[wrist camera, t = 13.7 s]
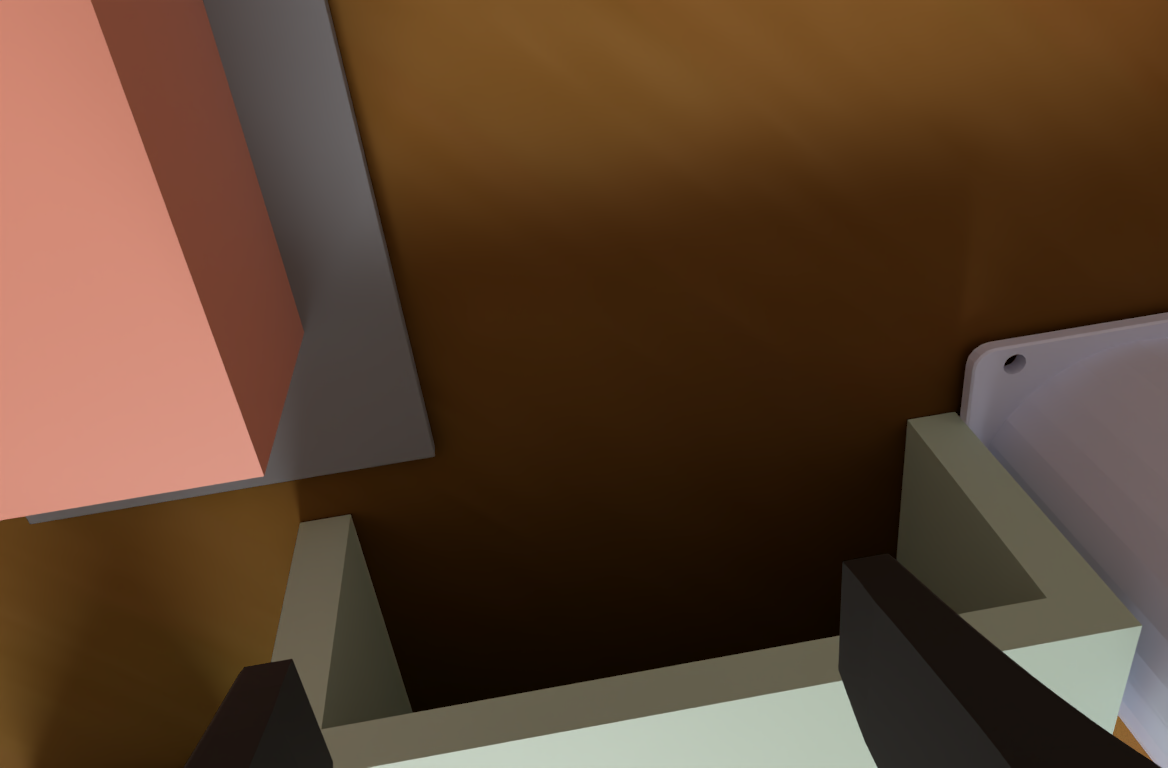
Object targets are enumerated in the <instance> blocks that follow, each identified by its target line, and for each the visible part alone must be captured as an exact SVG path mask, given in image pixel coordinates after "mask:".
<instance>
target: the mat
mask: <svg viewBox="0 0 1168 768" xmlns="http://www.w3.org/2000/svg"><path fill="white" fill-rule="evenodd" d="M203 3H204V6H205V9H206V13H207V16H208V19H209V23H210V26H211V29H212V32H213V36H214V39H215V42H216V45H217V49H218V52H219V55H220V58H221V62H222V65H223V68H224V72H225V75H226V78H227V81H228V85H229V88H230V91H231V94H232V98H233V101H234V104H235V108H236V111H237V114H238V117H239V121H240V124H241V127H242V130H243V134H244V137H245V140H246V143H247V147H248V150H249V153H250V157H251V160H252V163H253V166H254V170H255V173H256V176H257V179H258V183H259V186H260V189H261V193H262V196H263V199H264V202H265V206H266V209H267V212H268V215H269V219H270V222H271V225H272V228H273V232H274V235H275V238H276V242H277V245H278V248H279V251H280V255H281V258H282V261H283V264H284V268H285V271H286V274H287V278H288V281H289V284H290V287H291V291H292V294H293V297H294V300H295V304H296V307H297V310H298V313H299V317H300V320H301V323H302V327H303V330H304V335H303V339H302V342H301V346H300V349H299V353H298V357H297V360H296V364H295V367H294V371H293V375H292V378H291V382H290V385H289V389H288V393H287V396H286V400H285V403H284V407H283V411H282V414H281V418H280V421H279V425H278V428H277V432H276V436H275V439H274V443H273V446H272V450H271V454H270V457H269V461H268V464H267V468H266V472H265V475H264V476H263V477H257V478H251V479H245V480H239V481H233V482H227V483H221V484H215V485H209V486H203V487H197V488H191V489H185V490H179V491H173V492H167V493H161V494H155V495H149V496H143V497H137V498H131V499H125V500H119V501H113V502H107V503H101V504H95V505H89V506H83V507H77V508H71V509H65V510H59V511H53V512H47V513H41V514H35V515H29V516H26V518H27V520H28V522H29V523H30V524H35V523H41V522H47V521H53V520H59V519H65V518H71V517H77V516H83V515H89V514H95V513H101V512H107V511H112V510H118V509H124V508H130V507H136V506H142V505H148V504H154V503H160V502H166V501H172V500H178V499H184V498H190V497H196V496H202V495H208V494H214V493H220V492H226V491H232V490H238V489H244V488H250V487H256V486H262V485H268V484H274V483H280V482H286V481H292V480H298V479H304V478H310V477H316V476H322V475H328V474H334V473H340V472H346V471H352V470H357V469H363V468H369V467H375V466H381V465H387V464H393V463H399V462H405V461H411V460H417V459H423V458H429V457H435V445H434V441H433V436H432V432H431V428H430V424H429V420H428V416H427V411H426V407H425V403H424V399H423V395H422V391H421V387H420V382H419V378H418V374H417V370H416V366H415V362H414V357H413V353H412V349H411V345H410V341H409V337H408V333H407V328H406V324H405V320H404V316H403V312H402V308H401V303H400V299H399V295H398V291H397V287H396V283H395V279H394V274H393V270H392V266H391V262H390V258H389V254H388V249H387V245H386V241H385V237H384V233H383V229H382V225H381V220H380V216H379V212H378V208H377V204H376V200H375V195H374V191H373V187H372V183H371V179H370V175H369V171H368V166H367V162H366V158H365V154H364V150H363V146H362V141H361V137H360V133H359V129H358V125H357V121H356V117H355V112H354V108H353V104H352V100H351V96H350V92H349V87H348V83H347V79H346V75H345V71H344V67H343V63H342V58H341V54H340V50H339V46H338V42H337V38H336V33H335V29H334V25H333V21H332V17H331V13H330V9H329V4H328V0H203Z"/></svg>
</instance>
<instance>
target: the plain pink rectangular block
mask: <svg viewBox="0 0 1168 768" xmlns="http://www.w3.org/2000/svg"><path fill="white" fill-rule="evenodd" d="M303 335H304V330H303V327H302V323H301V320H300V317H299V313H298V310H297V307H296V304H295V300H294V297H293V294H292V291H291V287H290V284H289V281H288V278H287V274H286V271H285V268H284V264H283V261H282V258H281V255H280V251H279V248H278V245H277V242H276V238H275V235H274V232H273V228H272V225H271V222H270V219H269V215H268V212H267V209H266V206H265V202H264V199H263V196H262V193H261V189H260V186H259V183H258V179H257V176H256V173H255V170H254V166H253V163H252V160H251V157H250V153H249V150H248V147H247V143H246V140H245V137H244V134H243V130H242V127H241V124H240V121H239V117H238V114H237V111H236V108H235V104H234V101H233V98H232V94H231V91H230V88H229V85H228V81H227V78H226V75H225V72H224V68H223V65H222V62H221V58H220V55H219V52H218V49H217V45H216V42H215V39H214V36H213V32H212V29H211V26H210V23H209V19H208V16H207V13H206V9H205V6H204V3H203V0H0V520H5V519H11V518H17V517H23V516H29V515H35V514H41V513H47V512H53V511H59V510H65V509H71V508H77V507H83V506H89V505H95V504H101V503H107V502H113V501H119V500H125V499H131V498H137V497H143V496H149V495H155V494H161V493H167V492H173V491H179V490H185V489H191V488H197V487H203V486H209V485H215V484H221V483H227V482H233V481H239V480H245V479H251V478H257V477H263V476H264V475H265V472H266V468H267V464H268V461H269V457H270V454H271V450H272V446H273V443H274V439H275V436H276V432H277V428H278V425H279V421H280V418H281V414H282V411H283V407H284V403H285V400H286V396H287V393H288V389H289V385H290V382H291V378H292V375H293V371H294V367H295V364H296V360H297V357H298V353H299V349H300V346H301V342H302V339H303Z"/></svg>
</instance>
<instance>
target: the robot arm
mask: <svg viewBox="0 0 1168 768" xmlns="http://www.w3.org/2000/svg"><path fill="white" fill-rule="evenodd" d="M1016 354H1017V356H1016V358H1015V360H1014V361H1013V362H1012V363H1011V364H1008V365H1006V366H1004V364H1005V362H1006V360H1008V359H1009V358H1010V357H1011V356H1013V355H1016ZM960 418H961V419H962V420H963V421H964V422H965V424H966V425H967V426H968V427H969V428H970V429H971V430H972V432H973V433H974V434H975V435H976V436H977V437H978V438H979V440H980V441H981V442H982V443H983V444H984V445H985V446H986V448H987V449H988V450H989V451H990V452H991V453H992V454H993V456H994V457H995V458H996V459H997V460H998V461H999V462H1000V464H1001V465H1002V466H1003V467H1004V468H1005V469H1006V470H1007V472H1008V473H1009V474H1010V475H1011V476H1012V477H1013V478H1014V480H1015V481H1016V482H1017V483H1018V484H1019V485H1020V486H1021V488H1022V489H1023V490H1024V491H1025V492H1026V493H1027V494H1028V496H1029V497H1030V498H1031V499H1032V500H1033V501H1034V502H1035V504H1036V505H1037V506H1038V507H1039V508H1040V509H1041V510H1042V512H1043V513H1044V514H1045V515H1046V516H1047V517H1048V518H1049V520H1050V521H1051V522H1052V523H1053V524H1054V525H1055V526H1056V528H1057V529H1058V530H1059V531H1060V532H1061V533H1062V534H1063V536H1064V537H1065V538H1066V539H1067V540H1068V541H1069V542H1070V544H1071V545H1072V546H1073V547H1074V548H1075V549H1076V550H1077V552H1078V553H1079V554H1080V555H1081V556H1082V557H1083V558H1084V560H1085V561H1086V562H1087V563H1088V564H1089V565H1090V566H1091V568H1092V569H1093V570H1094V571H1095V572H1096V573H1097V574H1098V576H1099V577H1100V578H1101V579H1102V580H1103V581H1104V582H1105V584H1106V585H1107V586H1108V587H1109V588H1110V589H1111V590H1112V592H1113V593H1114V594H1115V595H1116V596H1117V597H1118V598H1119V600H1120V601H1121V602H1122V603H1123V604H1124V605H1125V606H1126V608H1127V609H1128V610H1129V611H1130V612H1131V613H1132V614H1133V616H1134V617H1135V618H1136V619H1137V620H1138V621H1139V622H1140V623H1141V625H1142V628H1141V632H1140V636H1139V639H1138V643H1137V647H1136V650H1135V654H1134V657H1133V661H1132V665H1131V668H1130V672H1129V676H1128V679H1127V683H1126V687H1125V690H1124V694H1123V697H1122V701H1121V705H1120V708H1119V712H1118V716H1119V717H1120V718H1121V720H1122V721H1123V722H1124V723H1125V725H1126V726H1127V727H1128V729H1129V730H1130V731H1131V733H1132V734H1133V735H1134V737H1135V738H1136V739H1137V741H1138V742H1139V743H1140V745H1141V746H1142V747H1143V749H1144V750H1145V751H1146V752H1147V754H1148V755H1149V756H1150V758H1151V759H1152V760H1153V762H1152V761H1151V760H1149V759H1148V758H1146V757H1145V756H1143V755H1141V754H1140V753H1138V752H1137V751H1135V750H1134V749H1132V748H1131V747H1129V746H1128V745H1127V744H1125V743H1124V742H1122V741H1121V740H1119V739H1118V738H1116V737H1115V736H1113V735H1112V734H1111V733H1109V732H1108V731H1106V730H1105V729H1103V728H1102V727H1101V726H1099V725H1098V724H1096V723H1095V722H1094V721H1092V720H1091V719H1089V718H1088V717H1087V716H1085V715H1084V714H1083V713H1081V712H1080V711H1079V710H1077V709H1076V708H1074V707H1073V706H1072V705H1070V704H1069V703H1068V702H1066V701H1065V700H1064V699H1062V698H1061V697H1059V696H1058V695H1057V694H1056V693H1054V692H1053V691H1052V690H1050V689H1049V688H1048V687H1046V686H1045V685H1044V684H1043V683H1041V682H1040V681H1039V680H1037V679H1036V678H1035V677H1033V676H1032V675H1031V674H1030V673H1028V672H1027V671H1026V670H1025V669H1023V668H1022V667H1021V666H1020V665H1019V664H1017V663H1016V662H1015V661H1014V660H1012V659H1011V658H1010V657H1009V656H1007V655H1006V654H1005V653H1004V652H1002V651H1001V650H1000V649H999V648H997V647H996V646H995V645H994V644H992V643H991V642H990V641H989V640H988V639H986V638H985V637H984V636H983V635H982V634H980V633H979V632H978V631H977V630H976V629H975V628H973V627H972V626H971V625H970V624H969V623H967V622H966V621H965V620H964V619H963V618H962V617H961V616H959V615H958V614H957V613H956V612H955V611H954V610H952V609H951V608H950V607H949V606H948V605H947V604H946V603H944V602H943V601H942V600H941V599H940V598H939V597H938V596H936V595H935V594H934V593H933V592H932V591H931V590H930V589H929V588H927V587H926V586H925V585H924V584H923V583H922V582H921V581H920V580H918V579H917V578H916V577H915V576H914V575H913V574H912V573H911V572H909V571H908V570H907V569H906V568H905V567H904V566H903V565H902V564H900V563H899V562H898V561H897V560H896V559H895V558H893V557H892V556H891V555H889V554H888V553H887V554H881V555H875V556H870V557H864V558H858V559H853V560H847V561H843V563H842V588H841V612H840V637H839V662H838V670H839V673H840V676H841V679H842V682H843V684H844V687H845V690H846V693H847V695H848V698H849V701H850V704H851V707H852V709H853V712H854V715H855V717H856V720H857V723H858V725H859V728H860V730H861V733H862V736H863V738H864V741H865V743H866V745H867V747H868V749H869V751H870V753H871V756H872V758H873V760H874V762H875V764H876V766H877V768H1168V312H1166V313H1160V314H1154V315H1148V316H1142V317H1136V318H1130V319H1124V320H1118V321H1112V322H1106V323H1100V324H1094V325H1088V326H1082V327H1076V328H1070V329H1064V330H1058V331H1052V332H1046V333H1040V334H1034V335H1028V336H1022V337H1016V338H1010V339H1004V340H998V341H992V342H987V343H984V344H982V345H980V346H978V347H977V348H976V349H974V350H973V351H972V353H971V354H970V355H969V357H968V359H967V362H966V368H965V377H964V386H963V394H962V403H961V412H960ZM184 768H333V760H332V758H331V755H330V753H329V750H328V747H327V745H326V742H325V740H324V737H323V735H322V732H321V730H320V727H319V725H318V722H317V720H316V717H315V715H314V712H313V710H312V707H311V704H310V702H309V699H308V697H307V694H306V692H305V689H304V687H303V684H302V682H301V679H300V677H299V674H298V672H297V669H296V667H295V664H294V661H293V659H287V660H282V661H276V662H271V663H265V664H259V665H254V666H248V667H244V668H243V670H242V671H241V672H240V673H239V675H238V676H237V678H236V680H235V681H234V683H233V685H232V687H231V688H230V690H229V692H228V693H227V695H226V697H225V699H224V700H223V702H222V704H221V705H220V707H219V709H218V711H217V712H216V714H215V716H214V717H213V719H212V721H211V723H210V724H209V726H208V728H207V729H206V731H205V733H204V734H203V736H202V738H201V739H200V741H199V743H198V744H197V746H196V748H195V749H194V751H193V753H192V754H191V756H190V758H189V759H188V761H187V763H186V764H185V766H184Z"/></svg>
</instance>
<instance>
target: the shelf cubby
mask: <svg viewBox="0 0 1168 768" xmlns="http://www.w3.org/2000/svg"><path fill="white" fill-rule="evenodd" d="M896 560H897V561H898V562H899V563H900V564H902V565H903V566H904V567H905V568H906V569H907V570H908V571H909V572H911V573H912V574H913V575H914V576H915V577H916V578H917V579H918V580H920V581H921V582H922V583H923V584H924V585H925V586H926V587H927V588H929V589H930V590H931V591H932V592H933V593H934V594H935V595H936V596H938V597H939V598H940V599H941V600H942V601H943V602H944V603H946V604H947V605H948V606H949V607H950V608H951V609H952V610H954V611H955V612H956V613H957V614H958V615H959V616H961V617H962V618H963V619H964V620H965V621H966V622H967V623H969V624H970V625H971V626H972V627H973V628H975V629H976V630H977V631H978V632H979V633H980V634H982V635H983V636H984V637H985V638H986V639H988V640H989V641H990V642H991V643H992V644H994V645H995V646H996V647H997V648H999V649H1000V650H1001V651H1002V652H1004V653H1005V654H1006V655H1007V656H1009V657H1010V658H1011V659H1012V660H1014V661H1015V662H1016V663H1017V664H1019V665H1020V666H1021V667H1022V668H1023V669H1025V670H1026V671H1027V672H1028V673H1030V674H1031V675H1032V676H1033V677H1035V678H1036V679H1037V680H1039V681H1040V682H1041V683H1043V684H1044V685H1045V686H1046V687H1048V688H1049V689H1050V690H1052V691H1053V692H1054V693H1056V694H1057V695H1058V696H1059V697H1061V698H1062V699H1064V700H1065V701H1066V702H1068V703H1069V704H1070V705H1072V706H1073V707H1074V708H1076V709H1077V710H1079V711H1080V712H1081V713H1083V714H1084V715H1085V716H1087V717H1088V718H1089V719H1091V720H1092V721H1094V722H1095V723H1096V724H1098V725H1099V726H1101V727H1102V728H1103V729H1105V730H1106V731H1108V732H1109V733H1111V734H1113V730H1114V727H1115V723H1116V719H1117V716H1118V712H1119V708H1120V705H1121V701H1122V697H1123V694H1124V690H1125V687H1126V683H1127V679H1128V676H1129V672H1130V668H1131V665H1132V661H1133V657H1134V654H1135V650H1136V647H1137V643H1138V639H1139V636H1140V632H1141V628H1142V625H1141V623H1140V622H1139V621H1138V620H1137V619H1136V618H1135V617H1134V616H1133V614H1132V613H1131V612H1130V611H1129V610H1128V609H1127V608H1126V606H1125V605H1124V604H1123V603H1122V602H1121V601H1120V600H1119V598H1118V597H1117V596H1116V595H1115V594H1114V593H1113V592H1112V590H1111V589H1110V588H1109V587H1108V586H1107V585H1106V584H1105V582H1104V581H1103V580H1102V579H1101V578H1100V577H1099V576H1098V574H1097V573H1096V572H1095V571H1094V570H1093V569H1092V568H1091V566H1090V565H1089V564H1088V563H1087V562H1086V561H1085V560H1084V558H1083V557H1082V556H1081V555H1080V554H1079V553H1078V552H1077V550H1076V549H1075V548H1074V547H1073V546H1072V545H1071V544H1070V542H1069V541H1068V540H1067V539H1066V538H1065V537H1064V536H1063V534H1062V533H1061V532H1060V531H1059V530H1058V529H1057V528H1056V526H1055V525H1054V524H1053V523H1052V522H1051V521H1050V520H1049V518H1048V517H1047V516H1046V515H1045V514H1044V513H1043V512H1042V510H1041V509H1040V508H1039V507H1038V506H1037V505H1036V504H1035V502H1034V501H1033V500H1032V499H1031V498H1030V497H1029V496H1028V494H1027V493H1026V492H1025V491H1024V490H1023V489H1022V488H1021V486H1020V485H1019V484H1018V483H1017V482H1016V481H1015V480H1014V478H1013V477H1012V476H1011V475H1010V474H1009V473H1008V472H1007V470H1006V469H1005V468H1004V467H1003V466H1002V465H1001V464H1000V462H999V461H998V460H997V459H996V458H995V457H994V456H993V454H992V453H991V452H990V451H989V450H988V449H987V448H986V446H985V445H984V444H983V443H982V442H981V441H980V440H979V438H978V437H977V436H976V435H975V434H974V433H973V432H972V430H971V429H970V428H969V427H968V426H967V425H966V424H965V422H964V421H963V420H962V419H961V418H960V417H959V416H958V414H957V413H956V412H950V413H944V414H939V415H933V416H927V417H921V418H915V419H909V420H907V433H906V445H905V458H904V470H903V483H902V495H901V508H900V520H899V533H898V545H897V558H896ZM839 637H840V636H835V637H829V638H824V639H818V640H812V641H807V642H801V643H796V644H790V645H785V646H779V647H774V648H768V649H763V650H757V651H752V652H746V653H741V654H735V655H730V656H724V657H719V658H713V659H708V660H702V661H696V662H691V663H685V664H680V665H674V666H669V667H663V668H658V669H652V670H647V671H641V672H636V673H630V674H625V675H619V676H614V677H608V678H603V679H597V680H591V681H586V682H580V683H575V684H569V685H564V686H558V687H553V688H547V689H542V690H536V691H531V692H525V693H520V694H514V695H509V696H503V697H498V698H492V699H487V700H481V701H475V702H470V703H464V704H459V705H453V706H448V707H442V708H437V709H431V710H426V711H420V712H415V713H413V712H412V709H411V705H410V702H409V699H408V696H407V693H406V689H405V686H404V683H403V680H402V677H401V673H400V670H399V667H398V664H397V661H396V657H395V654H394V651H393V648H392V645H391V641H390V638H389V635H388V632H387V629H386V625H385V622H384V619H383V616H382V613H381V609H380V606H379V603H378V600H377V597H376V593H375V590H374V587H373V584H372V581H371V577H370V574H369V571H368V568H367V565H366V561H365V558H364V555H363V552H362V549H361V545H360V542H359V539H358V536H357V533H356V529H355V526H354V523H353V520H352V517H351V514H349V515H343V516H337V517H332V518H326V519H320V520H314V521H308V522H302V523H300V525H299V530H298V535H297V539H296V544H295V549H294V554H293V559H292V563H291V568H290V573H289V578H288V583H287V587H286V592H285V597H284V602H283V607H282V611H281V616H280V621H279V626H278V631H277V635H276V640H275V645H274V650H273V655H272V659H271V662H276V661H282V660H287V659H293V661H294V664H295V667H296V669H297V672H298V674H299V677H300V679H301V682H302V684H303V687H304V689H305V692H306V694H307V697H308V699H309V702H310V704H311V707H312V710H313V712H314V715H315V717H316V720H317V722H318V725H319V727H320V730H321V732H322V735H323V737H324V740H325V742H326V745H327V747H328V750H329V753H330V755H331V758H332V760H333V768H877V766H876V764H875V762H874V760H873V758H872V756H871V753H870V751H869V749H868V747H867V745H866V743H865V741H864V738H863V736H862V733H861V730H860V728H859V725H858V723H857V720H856V717H855V715H854V712H853V709H852V707H851V704H850V701H849V698H848V695H847V693H846V690H845V687H844V684H843V682H842V679H841V676H840V673H839V670H838V662H839Z"/></svg>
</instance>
